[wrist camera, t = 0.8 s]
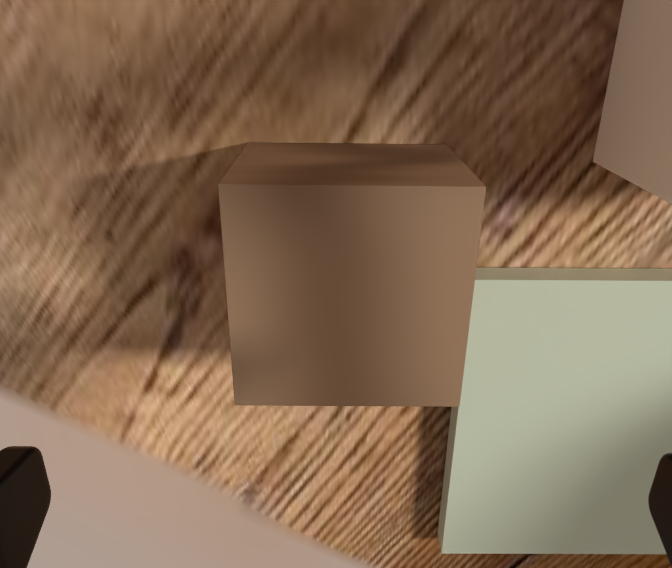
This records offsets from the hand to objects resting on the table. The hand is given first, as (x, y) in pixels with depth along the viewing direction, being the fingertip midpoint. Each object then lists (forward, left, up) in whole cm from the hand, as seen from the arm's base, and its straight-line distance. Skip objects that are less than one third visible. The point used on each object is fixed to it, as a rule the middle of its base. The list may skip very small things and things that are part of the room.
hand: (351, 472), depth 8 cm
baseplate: (-10, +7, -11) cm, 17 cm away
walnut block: (0, 0, -11) cm, 11 cm away
